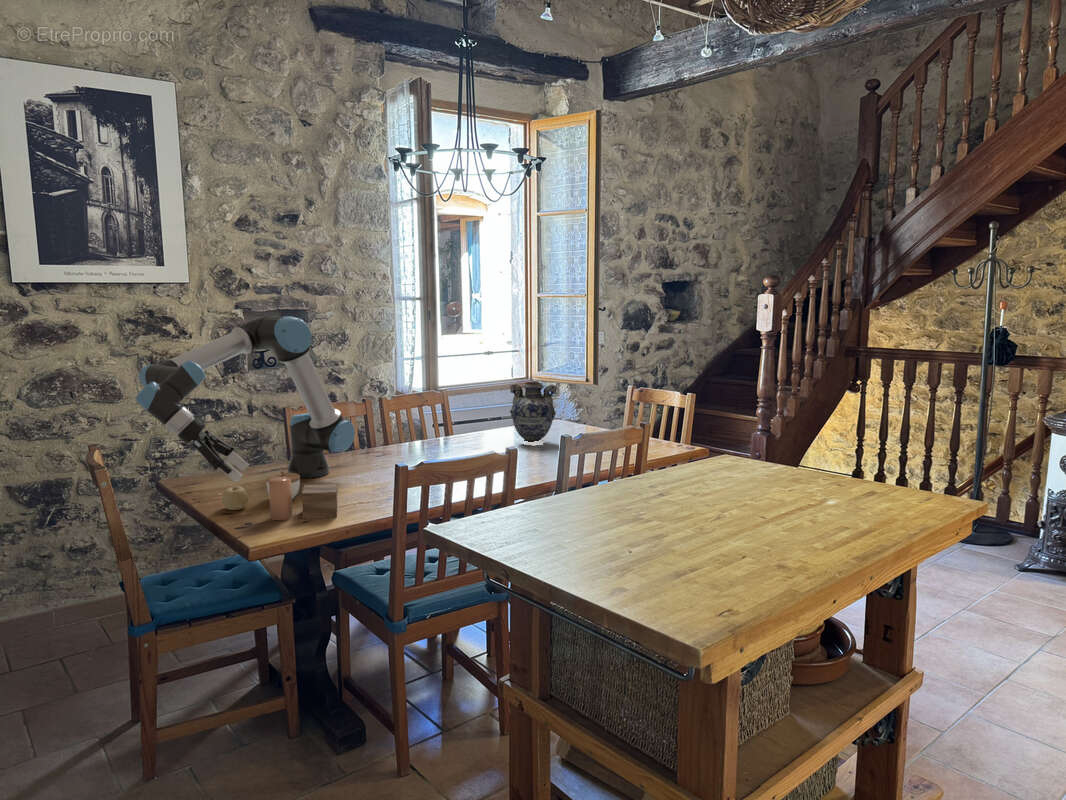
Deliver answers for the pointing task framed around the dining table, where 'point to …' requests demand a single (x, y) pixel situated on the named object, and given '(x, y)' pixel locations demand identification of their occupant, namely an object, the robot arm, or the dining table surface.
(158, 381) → the robot arm
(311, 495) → the walnut crate
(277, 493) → the dome-topped peach cylinder
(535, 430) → the decorative vase
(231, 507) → the apple
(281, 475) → the lidded jar
